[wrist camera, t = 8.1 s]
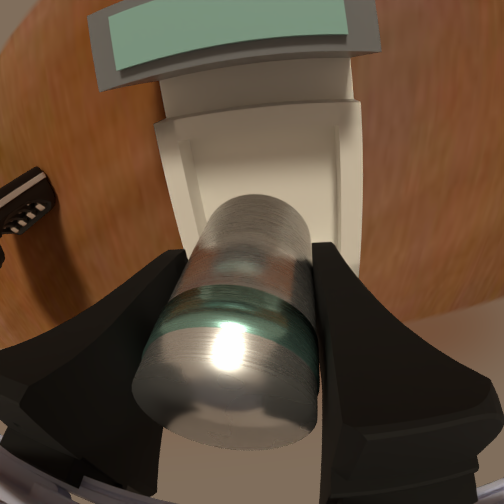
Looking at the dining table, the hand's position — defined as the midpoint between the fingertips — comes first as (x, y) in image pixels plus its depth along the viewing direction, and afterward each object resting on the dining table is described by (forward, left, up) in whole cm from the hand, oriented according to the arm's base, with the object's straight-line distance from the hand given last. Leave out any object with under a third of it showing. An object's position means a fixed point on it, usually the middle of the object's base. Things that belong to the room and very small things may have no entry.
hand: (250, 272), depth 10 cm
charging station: (0, -3, -7) cm, 8 cm away
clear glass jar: (0, 0, -2) cm, 2 cm away
